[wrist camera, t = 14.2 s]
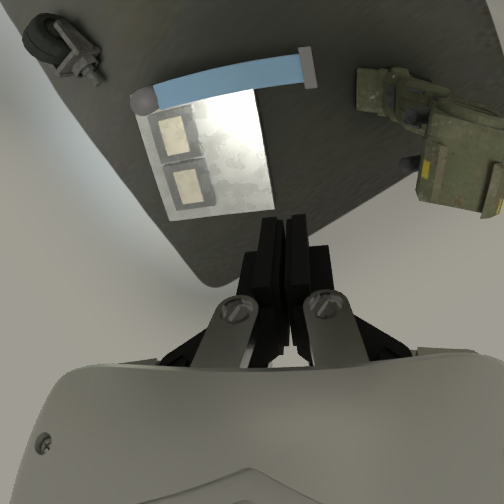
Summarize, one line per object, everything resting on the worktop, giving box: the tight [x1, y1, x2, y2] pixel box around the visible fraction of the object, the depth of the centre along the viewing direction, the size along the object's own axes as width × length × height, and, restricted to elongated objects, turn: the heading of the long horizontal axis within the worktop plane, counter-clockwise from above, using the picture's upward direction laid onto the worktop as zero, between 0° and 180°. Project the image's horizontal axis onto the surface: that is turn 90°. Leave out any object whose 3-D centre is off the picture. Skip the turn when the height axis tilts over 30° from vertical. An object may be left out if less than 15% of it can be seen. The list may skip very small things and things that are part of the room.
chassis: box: [130, 89, 275, 221], centre depth 40 cm, size 20×16×5 cm
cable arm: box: [130, 46, 317, 116], centre depth 30 cm, size 20×4×4 cm, turn 101°
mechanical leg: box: [356, 67, 504, 219], centre depth 23 cm, size 14×7×30 cm, turn 94°
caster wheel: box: [22, 13, 102, 87], centre depth 30 cm, size 6×10×15 cm
